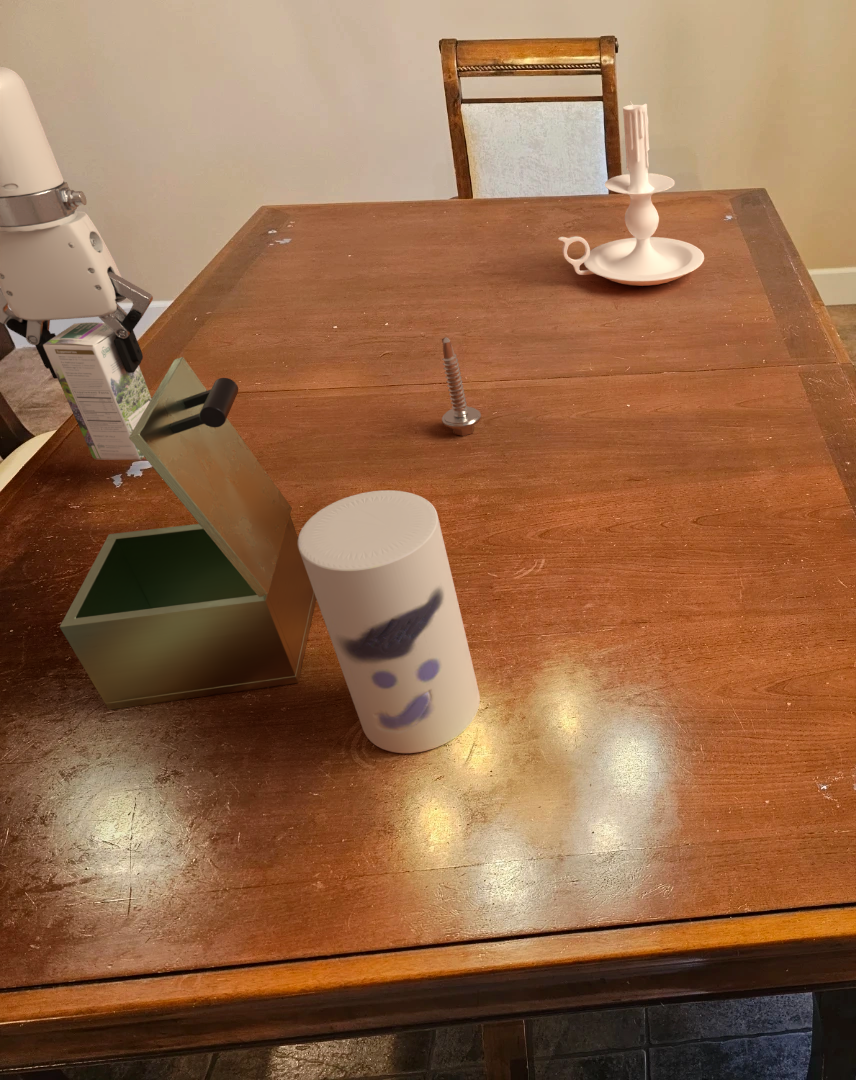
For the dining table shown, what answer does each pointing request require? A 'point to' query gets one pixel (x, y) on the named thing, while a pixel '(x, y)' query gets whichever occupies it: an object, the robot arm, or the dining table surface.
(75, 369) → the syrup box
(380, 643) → the container
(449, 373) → the screw
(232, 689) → the bin
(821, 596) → the dining table surface
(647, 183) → the candlestick
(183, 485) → the lid
